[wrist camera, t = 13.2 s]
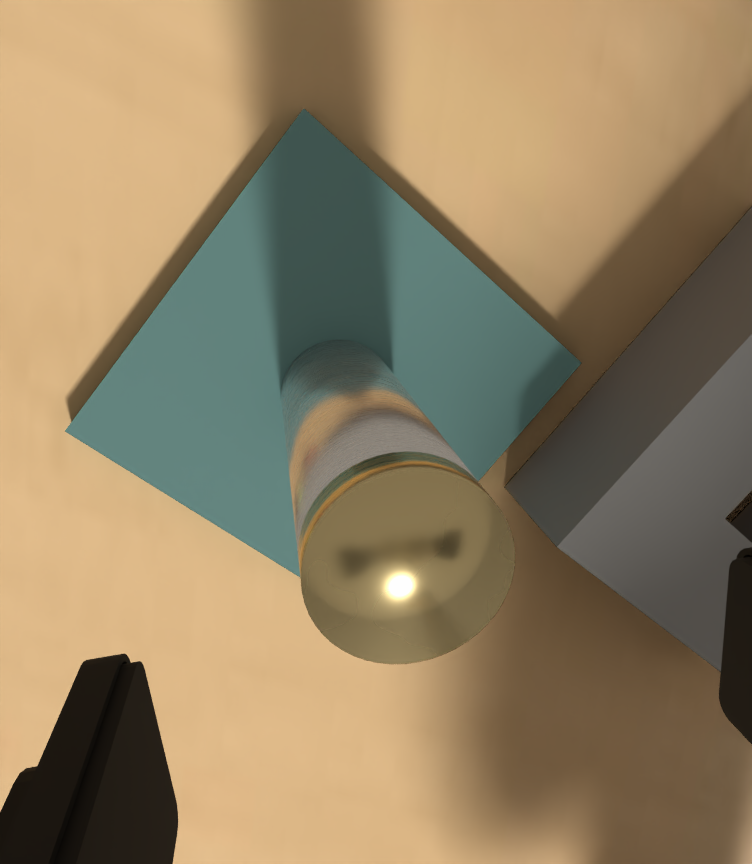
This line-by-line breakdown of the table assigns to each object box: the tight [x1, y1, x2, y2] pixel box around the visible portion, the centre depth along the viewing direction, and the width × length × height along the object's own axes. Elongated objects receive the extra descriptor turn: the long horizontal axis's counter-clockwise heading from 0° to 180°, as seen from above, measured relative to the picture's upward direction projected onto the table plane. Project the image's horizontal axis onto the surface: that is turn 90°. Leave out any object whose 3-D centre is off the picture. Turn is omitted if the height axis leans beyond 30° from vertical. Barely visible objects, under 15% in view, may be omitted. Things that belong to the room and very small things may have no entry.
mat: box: [65, 109, 581, 577], centre depth 24 cm, size 13×13×1 cm
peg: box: [281, 340, 515, 664], centre depth 18 cm, size 4×4×12 cm
